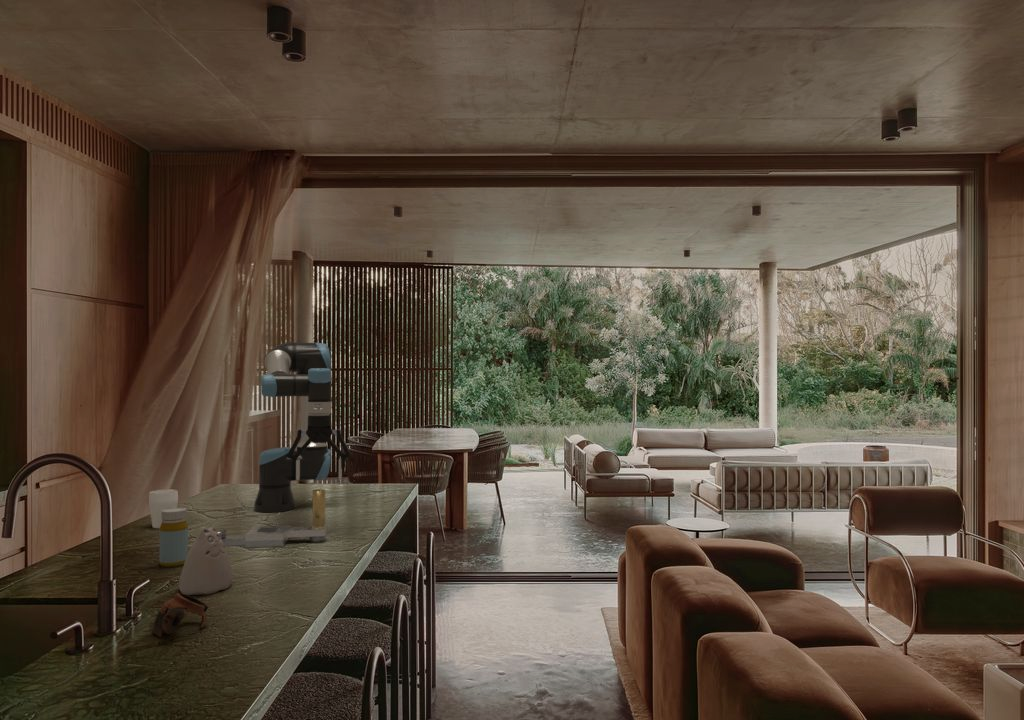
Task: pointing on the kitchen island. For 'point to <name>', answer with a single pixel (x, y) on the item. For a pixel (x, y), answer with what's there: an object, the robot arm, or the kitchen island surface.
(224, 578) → the sculpture
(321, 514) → the pin
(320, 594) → the kitchen island surface
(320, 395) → the robot arm
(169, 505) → the cup
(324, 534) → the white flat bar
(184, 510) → the bottle
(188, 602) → the brown curved piece
